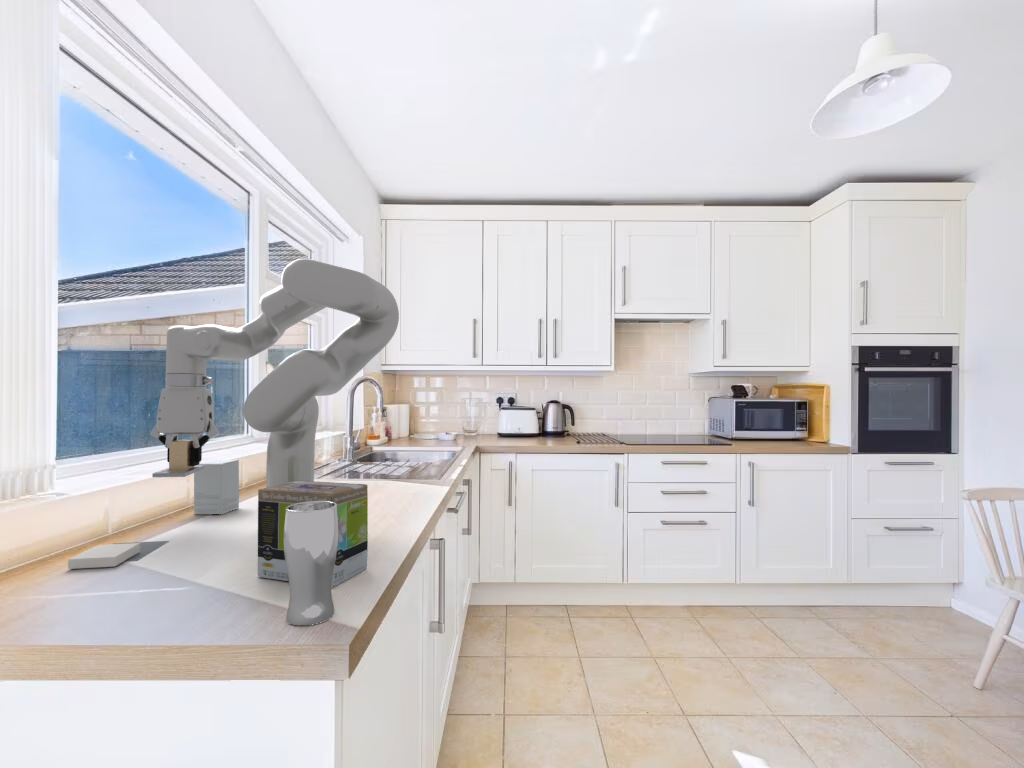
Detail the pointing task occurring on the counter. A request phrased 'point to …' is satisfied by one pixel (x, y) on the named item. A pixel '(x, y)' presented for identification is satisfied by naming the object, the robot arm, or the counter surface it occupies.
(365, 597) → the counter surface
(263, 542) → the tea box
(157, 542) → the mat
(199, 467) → the trowel
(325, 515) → the beer glass
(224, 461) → the supplement box
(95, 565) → the tile
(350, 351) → the robot arm
